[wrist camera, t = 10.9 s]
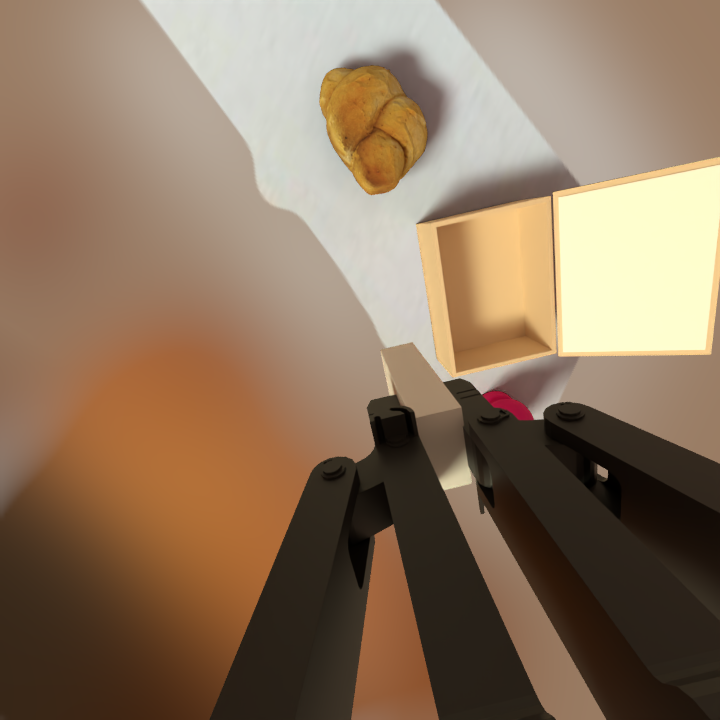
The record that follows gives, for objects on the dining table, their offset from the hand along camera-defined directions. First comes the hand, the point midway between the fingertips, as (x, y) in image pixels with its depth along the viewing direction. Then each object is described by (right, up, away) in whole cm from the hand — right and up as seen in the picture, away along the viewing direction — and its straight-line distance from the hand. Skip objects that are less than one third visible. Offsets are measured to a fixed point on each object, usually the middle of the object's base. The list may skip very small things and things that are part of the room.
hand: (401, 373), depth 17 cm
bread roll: (-1, +27, +25) cm, 37 cm away
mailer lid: (+26, +10, +21) cm, 35 cm away
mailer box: (+13, +11, +32) cm, 36 cm away
